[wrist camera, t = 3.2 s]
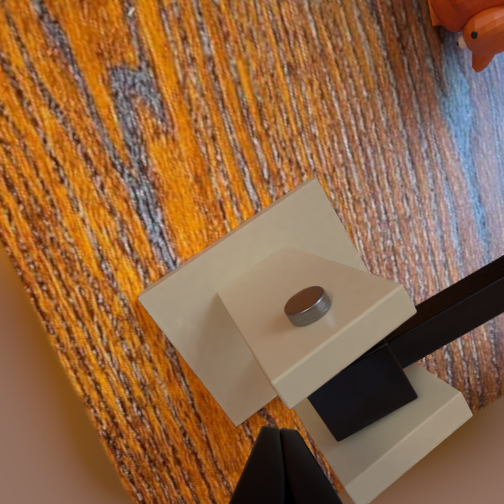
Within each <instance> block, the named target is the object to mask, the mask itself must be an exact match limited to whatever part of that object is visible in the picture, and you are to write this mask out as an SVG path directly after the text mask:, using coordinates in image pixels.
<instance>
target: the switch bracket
mask: <svg viewBox="0 0 504 504" xmlns="http://www.w3.org/2000/svg"><path fill="white" fill-rule="evenodd" d="M138 301H139V302H140V303H141V304H142V306H143V307H144V308H145V310H146V311H147V312H148V313H149V315H150V316H151V317H152V319H153V320H154V321H155V323H156V324H157V325H158V326H159V328H160V329H161V330H162V332H163V333H164V334H165V336H166V337H167V338H168V339H169V341H170V342H171V343H172V345H173V346H174V347H175V349H176V350H177V351H178V352H179V354H180V355H181V356H182V358H183V359H184V360H185V361H186V363H187V364H188V365H189V367H190V368H191V369H192V371H193V372H194V373H195V374H196V376H197V377H198V378H199V380H200V381H201V382H202V384H203V385H204V386H205V387H206V389H207V390H208V391H209V393H210V394H211V395H212V397H213V398H214V399H215V400H216V402H217V403H218V404H219V406H220V407H221V408H222V409H223V411H224V412H225V413H226V415H227V416H228V417H229V419H230V420H231V421H232V422H233V424H234V425H235V426H236V427H237V426H238V425H240V424H241V423H242V422H244V421H245V420H246V419H248V418H249V417H250V416H252V415H253V414H254V413H256V412H257V411H258V410H259V409H261V408H262V407H263V406H265V405H266V404H267V403H269V402H270V401H271V400H273V399H274V398H275V397H277V396H279V398H280V399H281V401H282V402H283V403H284V405H285V406H286V408H288V409H289V410H290V409H294V410H295V412H296V414H297V415H298V417H299V418H300V420H301V422H302V423H303V425H304V426H305V428H306V430H307V431H308V433H309V434H310V436H311V437H312V439H313V441H314V442H315V444H316V445H317V447H318V449H319V450H320V452H321V453H322V455H323V457H324V458H325V460H326V461H327V463H328V464H329V466H330V468H331V469H332V471H333V472H334V474H335V476H336V477H337V479H338V480H339V482H340V484H341V485H342V487H343V488H344V490H345V491H346V493H347V494H348V495H349V497H350V498H351V500H352V501H353V502H354V504H369V503H370V502H371V501H372V500H373V499H374V498H376V497H377V496H378V495H379V494H380V493H382V492H383V491H384V490H385V489H386V488H387V487H389V486H390V485H391V484H392V483H393V482H395V481H396V480H397V479H398V478H399V477H401V476H402V475H403V474H404V473H405V472H407V471H408V470H409V469H410V468H411V467H413V466H414V465H415V464H416V463H417V462H418V461H420V460H421V459H422V458H423V457H424V456H426V455H427V454H428V453H429V452H430V451H431V450H433V449H434V448H435V447H436V446H437V445H439V444H440V443H441V442H442V441H443V440H445V439H446V438H447V437H448V436H449V435H451V434H452V433H453V432H454V431H455V430H456V429H457V428H459V427H460V426H461V425H462V424H464V423H465V422H466V421H467V420H468V419H470V418H471V417H472V416H473V414H472V412H471V410H470V409H469V407H468V405H467V403H466V401H465V399H464V397H463V395H462V394H461V392H460V391H458V390H456V389H455V388H453V387H452V386H450V385H449V384H447V383H445V382H444V381H442V380H441V379H439V378H438V377H436V376H434V375H433V374H431V373H430V372H428V371H427V370H425V369H423V368H422V367H420V366H419V365H417V364H416V363H413V364H411V365H409V366H408V367H406V368H404V369H403V371H404V372H405V374H406V376H407V378H408V379H409V381H410V383H411V385H412V386H413V388H414V390H415V391H416V393H417V395H418V398H417V399H416V400H414V401H412V402H410V403H409V404H407V405H405V406H403V407H401V408H400V409H398V410H396V411H394V412H392V413H391V414H389V415H387V416H385V417H383V418H382V419H380V420H378V421H376V422H374V423H373V424H371V425H369V426H367V427H365V428H364V429H362V430H360V431H358V432H356V433H355V434H353V435H351V436H349V437H347V438H346V439H344V440H342V441H340V442H337V441H336V440H335V438H334V437H333V435H332V434H331V432H330V431H329V430H328V428H327V427H326V425H325V424H324V422H323V421H322V419H321V418H320V416H319V415H318V413H317V412H316V410H315V409H314V408H313V406H312V405H311V403H310V402H309V400H308V399H307V397H308V396H309V395H311V394H312V393H313V392H315V391H316V390H317V389H318V388H320V387H321V386H322V385H324V384H325V383H326V382H328V381H329V380H330V379H331V378H333V377H334V376H335V375H337V374H338V373H339V372H340V371H342V370H343V369H344V368H346V367H347V366H348V365H350V364H351V363H352V362H353V361H355V360H356V359H357V358H359V357H360V356H361V355H363V354H364V353H365V352H366V351H368V350H369V349H370V348H372V347H373V346H374V345H375V344H377V343H378V342H379V341H381V340H382V339H383V338H385V337H386V336H387V335H388V334H390V333H391V332H392V331H394V330H395V329H396V328H398V327H399V326H400V325H401V324H403V323H404V322H405V321H407V320H408V319H409V318H410V317H412V316H413V315H414V314H416V312H417V311H416V308H415V306H414V305H413V303H412V301H411V299H410V297H409V295H408V293H407V291H406V290H405V288H404V286H403V285H402V284H399V283H396V282H393V281H391V280H388V279H385V278H382V277H379V276H376V275H373V274H370V273H369V272H368V270H367V268H366V266H365V264H364V263H363V261H362V259H361V257H360V255H359V254H358V252H357V250H356V248H355V246H354V245H353V243H352V241H351V239H350V237H349V236H348V234H347V232H346V230H345V228H344V227H343V225H342V223H341V221H340V219H339V218H338V216H337V214H336V212H335V210H334V209H333V207H332V205H331V203H330V201H329V200H328V198H327V196H326V194H325V192H324V191H323V189H322V187H321V185H320V183H319V182H318V180H317V178H312V179H307V180H306V181H304V182H303V183H301V184H300V185H298V186H297V187H295V188H294V189H292V190H291V191H289V192H288V193H286V194H285V195H283V196H282V197H280V198H279V199H277V200H276V201H274V202H273V203H272V204H270V205H269V206H267V207H266V208H264V209H263V210H261V211H260V212H258V213H257V214H255V215H254V216H252V217H251V218H249V219H248V220H246V221H245V222H243V223H242V224H240V225H239V226H237V227H236V228H234V229H233V230H231V231H230V232H229V233H227V234H226V235H224V236H223V237H221V238H220V239H218V240H217V241H215V242H214V243H212V244H211V245H209V246H208V247H206V248H205V249H203V250H202V251H200V252H199V253H197V254H196V255H194V256H193V257H191V258H190V259H189V260H187V261H186V262H184V263H183V264H181V265H180V266H178V267H177V268H175V269H174V270H172V271H171V272H169V273H168V274H166V275H165V276H163V277H162V278H160V279H159V280H157V281H156V282H154V283H153V284H151V285H150V286H148V287H147V288H146V289H144V290H143V291H141V292H140V293H139V295H138Z"/></svg>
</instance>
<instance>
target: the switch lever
mask: <svg viewBox="0 0 504 504" xmlns="http://www.w3.org/2000/svg"><path fill="white" fill-rule="evenodd" d="M415 308H416V311H417V312H416V314H414V315H413V316H412V317H410V318H409V319H408V320H407V321H405V322H404V323H403V324H401V325H400V326H399V327H398V328H396V329H395V330H394V331H392V332H391V333H390V334H388V335H387V336H386V337H385V338H383V339H382V340H381V341H379V342H378V343H377V344H375V345H374V346H373V347H372V348H370V349H369V350H368V351H366V352H365V353H364V354H363V355H361V356H360V357H359V358H357V359H356V360H355V361H353V362H352V363H351V364H350V365H348V366H347V367H346V368H344V369H343V370H342V371H340V372H339V373H338V374H337V375H335V376H334V377H333V378H331V379H330V380H329V381H328V382H326V383H325V384H324V385H322V386H321V387H320V388H318V389H317V390H316V391H315V392H313V393H312V394H311V395H309V396H308V397H307V399H308V400H309V402H310V403H311V405H312V406H313V408H314V409H315V410H316V412H317V413H318V415H319V416H320V418H321V419H322V421H323V422H324V424H325V425H326V427H327V428H328V430H329V431H330V432H331V434H332V435H333V437H334V438H335V440H336V441H337V442H340V441H342V440H344V439H346V438H347V437H349V436H351V435H353V434H355V433H356V432H358V431H360V430H362V429H364V428H365V427H367V426H369V425H371V424H373V423H374V422H376V421H378V420H380V419H382V418H383V417H385V416H387V415H389V414H391V413H392V412H394V411H396V410H398V409H400V408H401V407H403V406H405V405H407V404H409V403H410V402H412V401H414V400H416V399H417V398H418V395H417V393H416V391H415V390H414V388H413V386H412V385H411V383H410V381H409V379H408V378H407V376H406V374H405V372H404V371H403V369H404V368H406V367H408V366H409V365H411V364H413V363H415V362H417V361H418V360H420V359H422V358H424V357H425V356H427V355H429V354H431V353H432V352H434V351H436V350H438V349H440V348H441V347H443V346H445V345H447V344H448V343H450V342H452V341H454V340H455V339H457V338H459V337H461V336H463V335H464V334H466V333H468V332H470V331H471V330H473V329H475V328H477V327H478V326H480V325H482V324H484V323H486V322H487V321H489V320H491V319H493V318H494V317H496V316H498V315H500V314H501V313H503V312H504V255H503V256H501V257H499V258H498V259H496V260H494V261H492V262H491V263H489V264H487V265H486V266H484V267H482V268H480V269H479V270H477V271H475V272H473V273H472V274H470V275H468V276H467V277H465V278H463V279H461V280H460V281H458V282H456V283H454V284H453V285H451V286H449V287H448V288H446V289H444V290H442V291H441V292H439V293H437V294H435V295H434V296H432V297H430V298H429V299H427V300H425V301H423V302H422V303H420V304H418V305H416V306H415Z"/></svg>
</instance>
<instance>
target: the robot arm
mask: <svg viewBox="0 0 504 504" xmlns="http://www.w3.org/2000/svg"><path fill="white" fill-rule="evenodd" d="M229 504H343V503H342V502H341V500H340V498H339V496H338V495H337V493H336V492H335V490H334V488H333V487H332V485H331V483H330V482H329V480H328V479H327V477H326V475H325V474H324V472H323V470H322V469H321V467H320V466H319V464H318V462H317V461H316V459H315V457H314V456H313V454H312V453H311V451H310V449H309V448H308V446H307V445H306V443H305V441H304V440H303V438H302V436H301V435H300V433H299V432H298V431H297V430H294V429H286V428H282V429H280V430H279V428H277V427H271V426H262V427H261V429H260V432H259V434H258V436H257V439H256V441H255V443H254V446H253V448H252V450H251V453H250V455H249V458H248V460H247V462H246V465H245V467H244V469H243V472H242V474H241V476H240V479H239V481H238V483H237V486H236V488H235V490H234V493H233V495H232V497H231V500H230V502H229Z"/></svg>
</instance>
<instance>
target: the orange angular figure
mask: <svg viewBox="0 0 504 504" xmlns="http://www.w3.org/2000/svg"><path fill="white" fill-rule="evenodd" d="M428 5H429V10H430V15H431V20H432V25H433V26H440V25H443V26H444V27H445V28H446V29H447V30H448V31H451V32H462V31H463V34H462V35H460V37H459V38H458V41H457V46H459V47H460V48H461V49H465V48H467V47H468V48H469V49H470V50H471V51H472V67H473V69H474V70H475V71H476V72H480V71H482V70H483V69H484V68H486V67H487V65H488V64H489V63H490V62H491V60H492V58H493V57H494V55H495V54H498V53H501V52H503V51H504V0H428Z"/></svg>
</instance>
